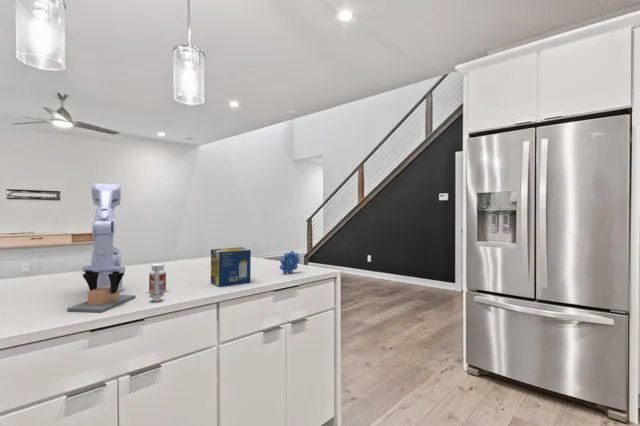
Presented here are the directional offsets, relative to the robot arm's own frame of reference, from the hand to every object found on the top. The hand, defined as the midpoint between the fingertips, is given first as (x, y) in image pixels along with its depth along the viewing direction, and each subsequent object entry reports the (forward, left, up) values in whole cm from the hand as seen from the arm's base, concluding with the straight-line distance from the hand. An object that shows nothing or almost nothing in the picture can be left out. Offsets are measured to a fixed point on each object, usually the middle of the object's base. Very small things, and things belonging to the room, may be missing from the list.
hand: (103, 292), depth 119 cm
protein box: (-38, +33, -4) cm, 51 cm away
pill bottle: (-19, +9, -4) cm, 21 cm away
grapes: (-63, +56, -4) cm, 84 cm away
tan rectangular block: (0, 0, -3) cm, 3 cm away
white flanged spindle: (-6, +16, -4) cm, 18 cm away
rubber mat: (0, 0, -4) cm, 4 cm away
